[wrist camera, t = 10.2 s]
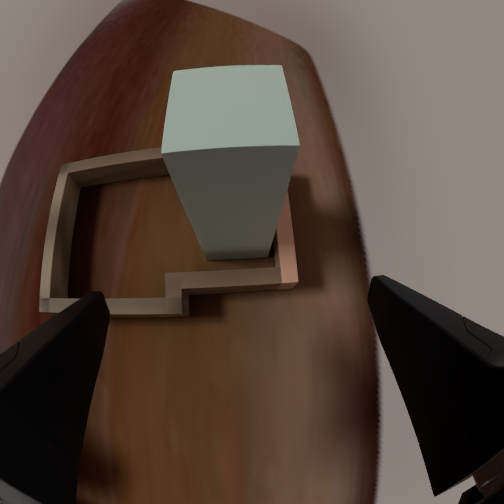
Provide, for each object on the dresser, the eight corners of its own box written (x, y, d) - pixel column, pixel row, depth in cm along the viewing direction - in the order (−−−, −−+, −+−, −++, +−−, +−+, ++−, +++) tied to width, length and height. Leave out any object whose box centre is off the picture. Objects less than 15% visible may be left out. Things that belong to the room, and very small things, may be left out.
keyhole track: (293, 310, 19) (300, 306, 17) (57, 315, 18) (39, 311, 16) (276, 158, 23) (280, 139, 20) (74, 179, 22) (61, 164, 19)
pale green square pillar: (267, 256, 20) (299, 145, 8) (207, 260, 20) (161, 153, 8) (262, 202, 21) (281, 65, 9) (206, 205, 21) (173, 71, 9)
